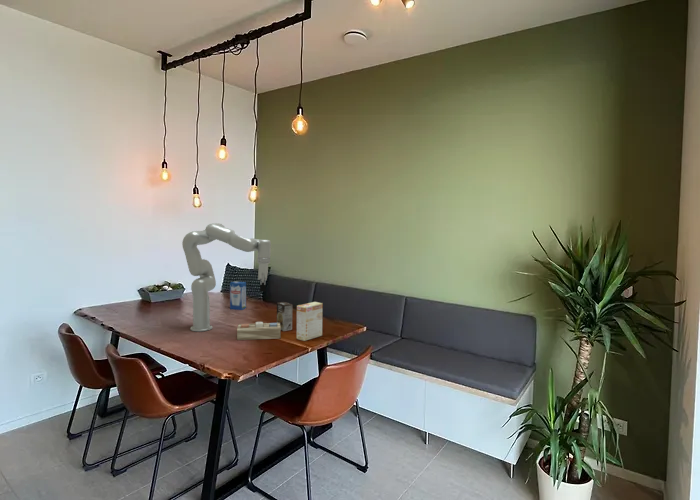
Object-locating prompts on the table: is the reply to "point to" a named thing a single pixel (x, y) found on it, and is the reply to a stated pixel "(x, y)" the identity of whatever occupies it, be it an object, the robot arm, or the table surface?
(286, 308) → the coffee box
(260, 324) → the white key
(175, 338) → the table surface
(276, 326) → the slate-blue key
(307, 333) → the coffeecake box
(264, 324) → the key console
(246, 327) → the terracotta key
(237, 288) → the milk carton
